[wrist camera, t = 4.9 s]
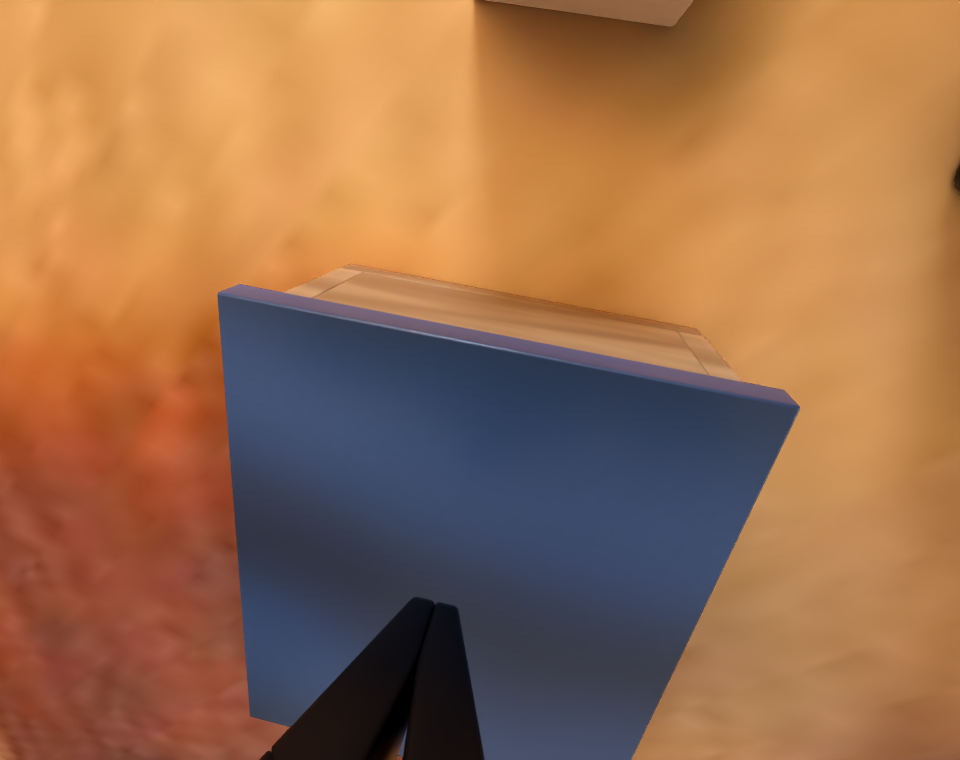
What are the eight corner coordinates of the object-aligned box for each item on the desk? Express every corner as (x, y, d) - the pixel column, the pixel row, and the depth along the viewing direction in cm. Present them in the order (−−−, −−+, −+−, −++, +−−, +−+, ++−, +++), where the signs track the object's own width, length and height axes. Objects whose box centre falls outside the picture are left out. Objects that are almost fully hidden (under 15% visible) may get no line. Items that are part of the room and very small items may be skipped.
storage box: (348, 263, 17) (251, 304, 12) (697, 328, 16) (765, 406, 11) (334, 568, 22) (263, 692, 17) (594, 630, 21) (604, 780, 16)
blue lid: (239, 282, 11) (215, 291, 10) (784, 389, 10) (802, 407, 9) (262, 693, 17) (249, 717, 16) (605, 782, 16) (607, 811, 15)
